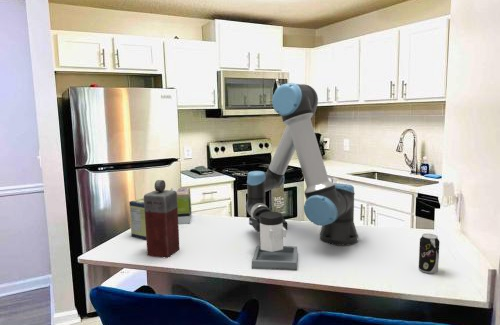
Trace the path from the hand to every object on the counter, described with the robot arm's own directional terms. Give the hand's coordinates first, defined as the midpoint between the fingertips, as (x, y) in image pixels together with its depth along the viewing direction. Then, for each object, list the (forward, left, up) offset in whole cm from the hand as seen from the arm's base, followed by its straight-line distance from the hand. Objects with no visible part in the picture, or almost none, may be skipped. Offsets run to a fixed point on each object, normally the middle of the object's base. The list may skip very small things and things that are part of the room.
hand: (278, 234), depth 127 cm
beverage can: (-49, -1, -12) cm, 50 cm away
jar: (+3, -5, -7) cm, 9 cm away
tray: (+1, -5, -11) cm, 12 cm away
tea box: (+51, -51, -12) cm, 73 cm away
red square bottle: (+45, -9, -12) cm, 48 cm away
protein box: (+57, -30, -12) cm, 66 cm away
